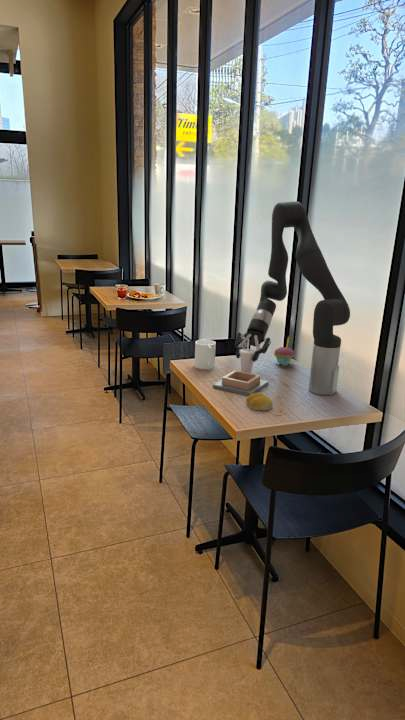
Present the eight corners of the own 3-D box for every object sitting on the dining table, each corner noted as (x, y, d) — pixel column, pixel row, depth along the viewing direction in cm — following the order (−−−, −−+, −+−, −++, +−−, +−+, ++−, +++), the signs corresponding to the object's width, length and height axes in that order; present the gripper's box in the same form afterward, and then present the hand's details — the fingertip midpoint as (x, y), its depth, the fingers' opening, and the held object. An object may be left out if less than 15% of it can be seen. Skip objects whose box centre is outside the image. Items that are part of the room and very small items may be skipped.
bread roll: (254, 413, 154) (255, 401, 152) (242, 402, 162) (243, 391, 160) (277, 410, 157) (278, 398, 155) (264, 400, 164) (265, 389, 163)
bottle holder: (268, 384, 179) (268, 374, 178) (251, 396, 166) (251, 386, 165) (231, 376, 186) (232, 367, 185) (212, 387, 173) (213, 377, 172)
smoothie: (254, 372, 191) (256, 338, 187) (254, 377, 185) (256, 342, 181) (238, 371, 192) (240, 337, 188) (237, 376, 186) (239, 341, 182)
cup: (199, 372, 188) (200, 348, 185) (192, 363, 199) (193, 339, 196) (220, 371, 191) (221, 347, 188) (211, 362, 202) (212, 339, 199)
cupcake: (281, 359, 209) (284, 332, 206) (297, 364, 204) (300, 337, 200) (269, 363, 204) (271, 335, 200) (285, 368, 198) (287, 340, 194)
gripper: (241, 315, 192) (225, 350, 186) (275, 320, 185) (260, 357, 179) (246, 326, 198) (231, 360, 192) (279, 331, 191) (264, 367, 185)
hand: (245, 358), depth 185 cm, fingers closed on smoothie, 6 cm apart
